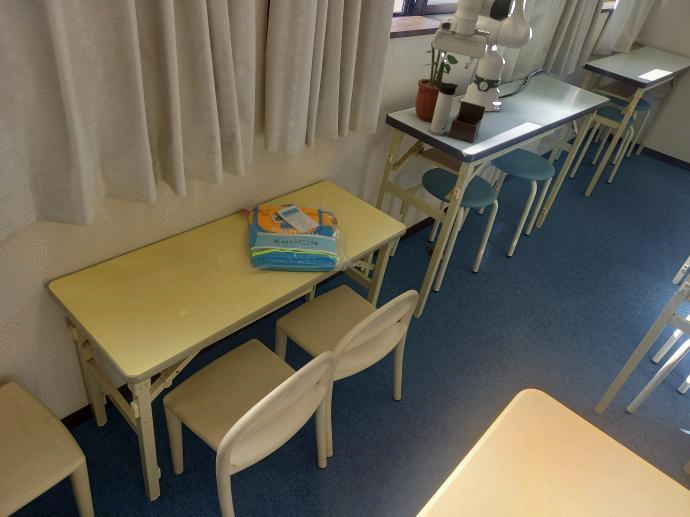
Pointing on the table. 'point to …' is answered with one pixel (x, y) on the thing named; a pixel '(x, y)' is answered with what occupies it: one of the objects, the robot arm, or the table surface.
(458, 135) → the brown hinged box
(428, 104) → the potted plant
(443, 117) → the travel mug
